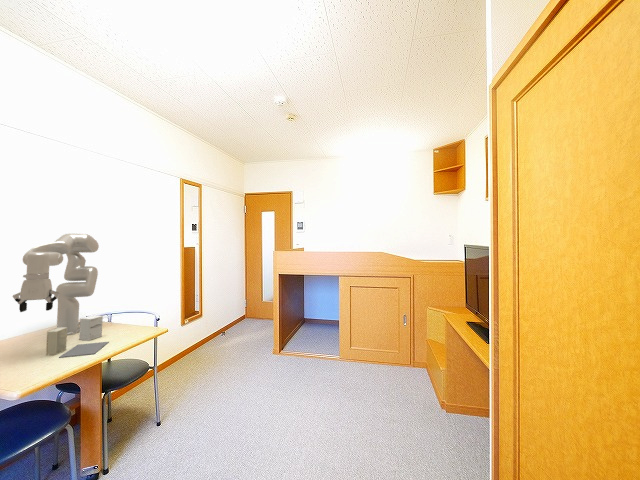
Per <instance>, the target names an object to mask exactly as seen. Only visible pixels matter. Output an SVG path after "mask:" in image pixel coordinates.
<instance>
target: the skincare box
mask: <svg viewBox="0 0 640 480" xmlns="http://www.w3.org/2000/svg"><path fill="white" fill-rule="evenodd" d="M46 332H47V333H46V349H45V350H46V351H45V356H55V355H58V354H61V353H63V352H64V351H66V350H67V341H68V340H67V339H68V337H67V336H68V335H67V327H58V328H57V327H56V328H53V329H51V330H48V331H46Z"/></svg>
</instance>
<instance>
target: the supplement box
mask: <svg viewBox="0 0 640 480" xmlns="http://www.w3.org/2000/svg"><path fill="white" fill-rule="evenodd" d="M79 320H80V321H79V322H80V325H79V328H80V332H79V334H78V335H79V337H78V340H80V341H88V342H89V341H91V340H94V339H97V338H100V337H102V336H103V315H98V314H96V315H95V314H93V315H90V316H86V317H81V318H79Z"/></svg>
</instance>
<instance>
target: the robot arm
mask: <svg viewBox="0 0 640 480" xmlns="http://www.w3.org/2000/svg"><path fill="white" fill-rule="evenodd" d="M99 248H100V246H99V243H98V241H97V240H96V239H95V238H94V237H93V236H91V235H89V234H87V233H65V234H63V235H61V236H60V237H59V238H57V239H56V240H54V241H53V242H48V243H45V244H41V245H37V246H35V247H32V248H30V249H29V250H28V251H27V252H26V253H24V255H23V257H22V263H23V264H24V265H25V266H26V274H23V275H22V278H25V279H24V280H23V281H22V285H21V287H20V291H19V292H18V293H15V294H13V295H12V298H13V300H14V301H15V302H17V304H18V305H19V312H20V313H23V312H26V311H27V310H28V303H27V301H40V300H45V302H46V303H45V311H51V310H52V309H53V307H54V306H53V305H54V302H55V301H56V300H57V310H56V311H57V315H56V318H57V319H56V328H58V327H67V336H69V335H75V334H77V333H80V327H79V326H80V321H79V320H80V302H79V300H78V299H77V298H85V297H91V296H93V294H94V293H95V290H96V285H97V279H98V275H99V271H98V269H97V267H95V266H90V265H89V266H86V262H87V260H86V258H85V257H84V256H83V255H82V254H81V253H84V254H85V253H90V254H91V253H92V254H93V253H95V252H97V251H98V250H99ZM63 255H65V256H66V257H67V262H66V267H65V271H64V274H63V278H64V280H65V281H68V282H63V283H60V284H58V285H57V286H56V289H55V290H53V285H52V280H51V278H50V267H53V266H54V267H55V266H59V265H60V264H62V262H63V261H64V256H63ZM52 296H53V297H52Z"/></svg>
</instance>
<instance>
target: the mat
mask: <svg viewBox="0 0 640 480" xmlns="http://www.w3.org/2000/svg"><path fill="white" fill-rule="evenodd" d="M109 343H110V341H100V342H91V343H81V344H77V345H75V346H73V347H72V348H71V349H69V350H67V351H66V352H64V353H63V354H61V355H60V356H58V359H64V358H73V357H80V356H90V355H96V353H98V352H99V351H101V350H102V349H103V348H104V347H106V345H108V344H109Z"/></svg>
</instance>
